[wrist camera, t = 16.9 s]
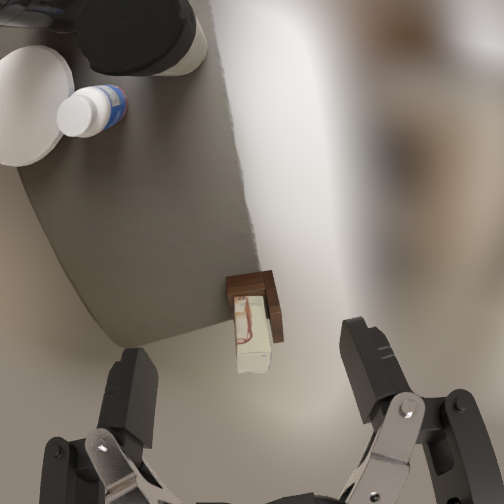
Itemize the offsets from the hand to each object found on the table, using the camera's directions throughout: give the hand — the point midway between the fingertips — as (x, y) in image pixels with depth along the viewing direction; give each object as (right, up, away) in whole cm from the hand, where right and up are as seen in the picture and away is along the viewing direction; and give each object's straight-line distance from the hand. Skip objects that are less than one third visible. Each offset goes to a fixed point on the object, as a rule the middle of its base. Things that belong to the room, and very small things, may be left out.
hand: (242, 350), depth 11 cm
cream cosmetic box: (0, -4, +32) cm, 33 cm away
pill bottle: (-17, +22, +18) cm, 33 cm away
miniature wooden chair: (0, -2, +35) cm, 35 cm away
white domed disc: (-27, +20, +9) cm, 34 cm away
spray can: (-8, +27, +15) cm, 32 cm away
